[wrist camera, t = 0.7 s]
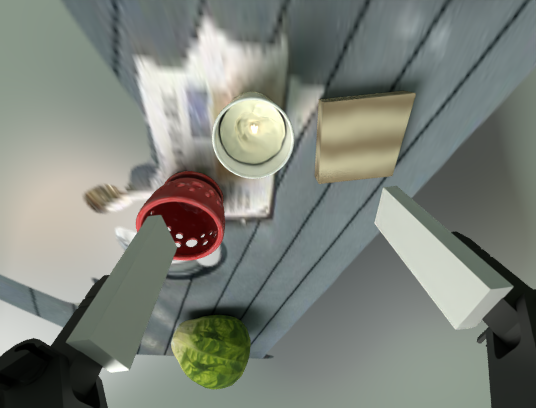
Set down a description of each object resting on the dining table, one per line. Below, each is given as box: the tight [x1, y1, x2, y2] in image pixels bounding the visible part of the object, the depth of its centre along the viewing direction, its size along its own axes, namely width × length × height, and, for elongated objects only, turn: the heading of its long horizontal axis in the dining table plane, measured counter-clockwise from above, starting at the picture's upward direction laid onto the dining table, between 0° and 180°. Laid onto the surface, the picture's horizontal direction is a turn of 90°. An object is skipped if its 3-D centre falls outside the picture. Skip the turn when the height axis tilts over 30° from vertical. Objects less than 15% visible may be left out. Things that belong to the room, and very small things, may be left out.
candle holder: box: [212, 92, 294, 179], centre depth 30 cm, size 10×10×12 cm
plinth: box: [315, 91, 416, 184], centre depth 37 cm, size 14×14×3 cm
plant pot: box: [136, 171, 225, 260], centre depth 37 cm, size 13×13×12 cm
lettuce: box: [171, 315, 250, 389], centre depth 62 cm, size 19×23×18 cm
